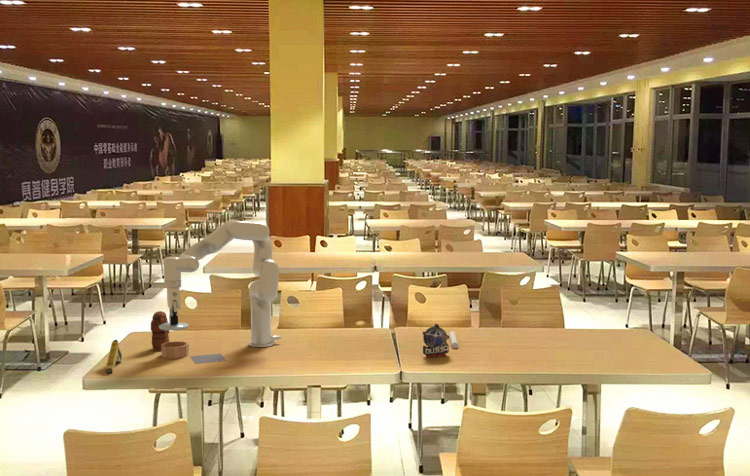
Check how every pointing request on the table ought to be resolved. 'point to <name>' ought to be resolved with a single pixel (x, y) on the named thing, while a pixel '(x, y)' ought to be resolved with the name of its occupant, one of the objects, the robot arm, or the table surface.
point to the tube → (453, 340)
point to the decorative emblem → (435, 342)
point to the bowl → (175, 349)
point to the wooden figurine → (159, 330)
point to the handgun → (113, 356)
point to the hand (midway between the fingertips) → (173, 323)
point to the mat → (208, 358)
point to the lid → (173, 326)
